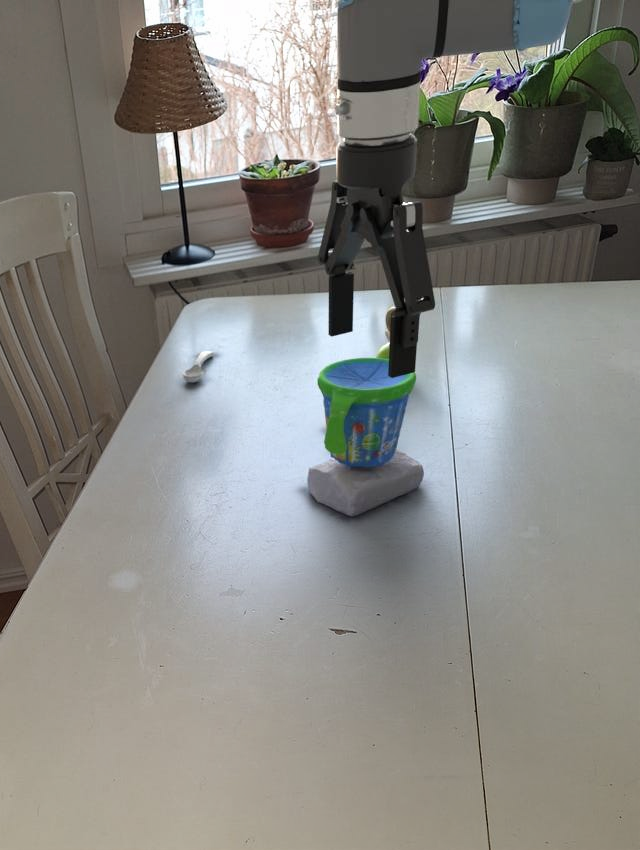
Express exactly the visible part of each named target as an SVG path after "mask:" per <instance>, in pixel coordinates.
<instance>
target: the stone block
mask: <svg viewBox="0 0 640 850" xmlns="http://www.w3.org/2000/svg"><path fill="white" fill-rule="evenodd" d="M424 475H425V471H424V466H423V464H421V463H420V462H419V461H418V460H416V459H415V458H414V457H412V456H409V455H408V454H406V453H405V452H403V451H401V450H399V449H398V448H396V452H395V453H394V455H393V457H392V458H391V459H390V460H389V461H388V462H386V463H385V464H384V465H380V466H373V467H348V466H347V465H344V464H342V463H339V462H338V461H337V460H335V459H332V460H328V461H326V462H324V463H321V464H317V465H314V466H312V467H309V468H308V472H307V477H306V479H307V480H306V482H307V489H308V492H309V494H310V495H311V496H312V497H313V498H314V500H316V502H317V503H320V504H323V505H325V506H327V507H329V508H331V509H333V510H335V511H336V512H339V513H341V514H344V515H345V516H347V517H356V516H359V515H361V514H363V513H366V512H368V511H370V510H373V509H374V508H377V507H379V506H381V505H383V504H385V503H388V502H390V501H393V500H394V499H395V498H397V497H400V496H403V495H406V494H408V493H410V492H412V491H414V490H415V489H417V488H418V487H419V486H420V485H421V484H422V481H423V479H424Z"/></svg>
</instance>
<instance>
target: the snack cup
mask: <svg viewBox="0 0 640 850" xmlns="http://www.w3.org/2000/svg"><path fill="white" fill-rule="evenodd" d="M388 369H389V359H382V358H376V357H357V358H349V359H343V360H339V361H335V362H332V363H330V364H328V365H326V366H325V367H323V368H322V369H321V371H320V372H319V376H318V377H317V386H318V389H319V390H320V393H321V395H322V397H323V401H322V402H323V403H322V404H323V408H324V420H325V426H326V430H325V434H324V440H323V444H324V449H326V451H327V452H329V453H330V458H332V459H333V460H337V461H338V462H339V463H342V464H344V465H347V466H348V467H373V466H380V465H384V464H385V463H386V462H388V461H389V460H390V459H391V458H392V457H393V455H394V453H395V452H396V449H398V448H397V447H398V442H399V438H400V434H401V430H402V427H403V423H404V419H405V415H406V411H407V406H408V402H409V397H410V394H411V393H412V391H413V389H414V387H415V384H416V381H417V374H416V371H415V372H414V373H410V374H406V375H402V376H398V377H394V378H391V377H389V376H388Z"/></svg>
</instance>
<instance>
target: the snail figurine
mask: <svg viewBox="0 0 640 850" xmlns="http://www.w3.org/2000/svg"><path fill="white" fill-rule="evenodd" d="M395 309H396V308H395V306H392V307H390V308H389V309H388V310H387V312H386V314H385V319H384V320H385V326H386V327H385V328H386V330H385V331H384V334H385V337H386V339H387V341H388V342H387V343H386V344H384V345H382V347H381V348H379V350H378V352H377V354H376V355H375V358H382V359H389V347H390V326H391V315H390V314H391V313H392V312H393V311H394V310H395Z"/></svg>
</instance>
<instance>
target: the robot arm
mask: <svg viewBox="0 0 640 850" xmlns="http://www.w3.org/2000/svg"><path fill="white" fill-rule="evenodd" d="M583 1H584V0H337V8H336V11H337V12H336V13H337V15H336V17H337V19H336V21H337V25H336V26H337V29H336V32H337V34H336V35H337V37H336V39H337V48H336V49H337V103H336V104H335V106H334V113H335V115H336V116H337V117H336V118H337V123H336V124H337V127H336V129H337V131H336V133H337V135H338V136H339V137H340V138H342V139H341V140H340V141H339V142H338V144H337V145H336V162H335V163H336V164H335V166H336V172H335V173H336V175H335V176H336V178H335V179H336V180H335V181H332V183H331V195H330V204H329V209H328V213H327V217H326V221H325V225H324V230H323V234H322V238H321V241H320V247H319V250H318V254H317V262H318V264H319V265H320V266H323V265H324V270H325V273H326V275H327V276H328V334H327V335H328V336H329V337H331V338H332V337H335V336H340V335H344V334H345V335H346V334H348V333H353V332H354V293H355V292H354V286H355V273H353V272H350V271H352V270H355V269H356V267H355V264H354V261H355V259H356V257H357V255H358V254H359V251H360V249H361V248H362V245H363V244H364V242H365V240H366V242H368V243H369V244H370V245H371V249H372V251H373V252H374V253H376V254H378V256H379V259H380V262H381V265H382V268H383V272H384V276H385V278H386V279H385V280H386V282H387V285H388V288H389V291H390V295H391V298H392V301H393V304H394V307H395V308H396V309H395V310H394V311H393V312H392V313H391V314H390V315H391V326H390V342H389V343H390V347H389V369H388V376H389V377H391V378H394V377H398V376H402V375H406V374H410V373H414V372H415V373H416V365H417V350H418V342H419V333H420V332H419V331H420V330H419V329H420V316H421V314H422V313H426V312H429V311H430V312H431V311H434V310H435V308H436V299H435V294H434V288H433V282H432V276H431V270H430V265H429V258H428V253H427V246H426V240H425V234H424V229H423V204H422V202H421V201H420V200H417V201H413V202H408V203H406V202H405V201H404V196H403V188H404V186H405V185H406V184H407V183H408V182H410V181H411V180H412V179H414V177H415V174H416V169H417V168H416V165H417V149H418V148H417V147H418V146H417V145H418V138H416V136H415V135H414V134H413V133H414V132H415V131H416V130H417V129H418V128H419V124H420V123H419V121H420V103H421V102H420V101H421V78H422V77H421V76H422V71H421V70H422V63H423V62H422V61H423V60H424V59H437V58H438V59H439V58H441V57H448V56H449V57H450V56H461V55H473V54H474V55H475V54H484V53H485V54H486V53H495V52H496V53H497V52H507V51H517V52H524V51H525V50H528V49H532V48H537V47H543V46H550V45H553V44H554V43H556V42H558V41H559V40H560V39H561V37H562V36H563V34H564V33H565V30H566V28H567V26H568V23H569V19H570V16H571V11H572V6H573V4H574V5H575V4H576V3H580V2H583ZM347 271H349V272H347Z"/></svg>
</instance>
